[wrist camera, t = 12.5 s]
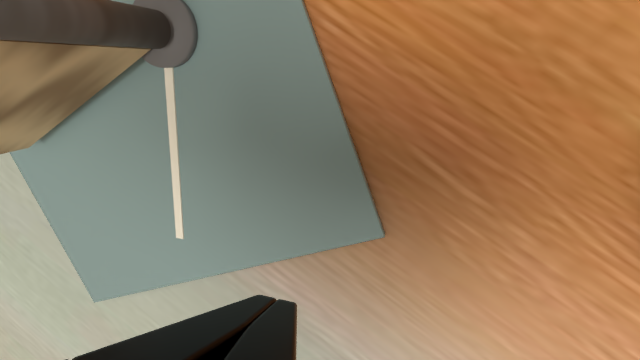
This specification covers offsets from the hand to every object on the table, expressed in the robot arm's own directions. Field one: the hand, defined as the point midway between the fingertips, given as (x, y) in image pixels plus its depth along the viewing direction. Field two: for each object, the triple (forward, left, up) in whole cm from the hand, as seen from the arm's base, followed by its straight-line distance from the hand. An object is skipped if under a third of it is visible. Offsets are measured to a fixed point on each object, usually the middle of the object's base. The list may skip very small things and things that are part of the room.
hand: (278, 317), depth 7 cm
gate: (+13, -9, -11) cm, 19 cm away
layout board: (+11, -5, -12) cm, 17 cm away
